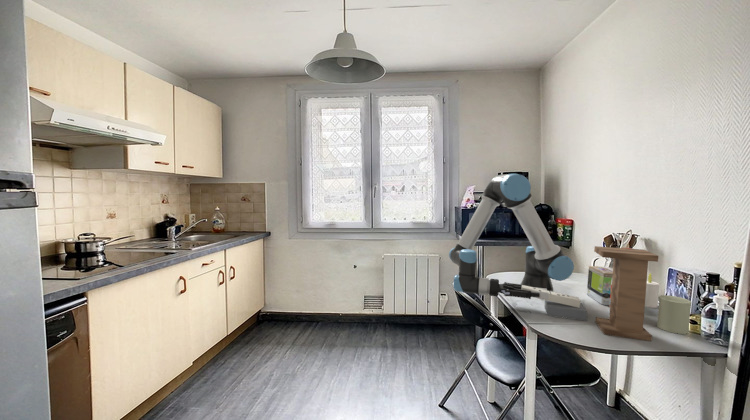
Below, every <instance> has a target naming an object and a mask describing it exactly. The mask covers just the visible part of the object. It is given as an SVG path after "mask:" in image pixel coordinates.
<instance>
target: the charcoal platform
mask: <svg viewBox="0 0 750 420" xmlns="http://www.w3.org/2000/svg"><path fill="white" fill-rule="evenodd" d="M544 309H545V313H546V315H548V317H555V316H556V317H557V318H562V317H563V319H569V320H571V319H572V320H579V321H584V322H585V321H586V322H587V321H588V310H587V309H586V307H585V305H584V304H583V303H582V302H580V307H579V308H578V307H573V306H569V305H565V304H560V303H556V302H552V301H548V300H544ZM556 317H555V318H556Z"/></svg>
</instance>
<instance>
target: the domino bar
mask: <svg viewBox="0 0 750 420" xmlns="http://www.w3.org/2000/svg"><path fill="white" fill-rule="evenodd" d="M521 289H522V290H527V291H531V290H533V291H542V292H548V299H543V298H538V299H540V300H544V301H545V300H548V301H552V302H556V303H560V304H565V305H569V306H573V307H578V308H579V307H580V303H582V302H581V299H580V298H579V297H577V296H574V295H569V294H564V293H560V292H557V291H556V292H555V291H553V292H552V291H547V290H543V289H538V288H534V287H529V286H525V285H522V287H521Z"/></svg>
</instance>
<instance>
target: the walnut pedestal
mask: <svg viewBox="0 0 750 420" xmlns="http://www.w3.org/2000/svg"><path fill="white" fill-rule="evenodd" d="M593 248H594V253H596V254H598V255H599V256H601V257H602V258H606V259H613V264H612V268H613V276H612V289H611V303H610V305H609V307H610V311H609V318H604V317H598V316H596V317H595V322H594V323H596V325H597V327H598V328H599V329H600V331H601V332H602V334H603V335H606V336H613V337H620V338H626V339H634V340H642V341H648V342H652V338H653V335H652V334H651V333H650V332H649V331H648V330H647V329H646V328H645V327H644V321H645V320H644V319H645V307H646V306H645V297H646V284H647V281H648V270H649V269H648V268H649V262H657V263H658V262H659V255H657V254H655V253H653V252H651V251H648V250H646V249H640V248H638V249H637V248H633V249H627V248H628V247H625V248H622V247H610V246H598V245H597V246H596V245H594V247H593Z"/></svg>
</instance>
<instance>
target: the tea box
mask: <svg viewBox="0 0 750 420" xmlns="http://www.w3.org/2000/svg"><path fill="white" fill-rule="evenodd" d="M587 273H588V274H587V288H586V295H587V296H588V297H590V298H591V299H593V300H594V301H596V302H597V303H599V304H600V305H603V306H604V305H605V306H610V293H611V280H612V276H613V267H609V266H597V265H594V266H593V265H589V266H588V272H587Z"/></svg>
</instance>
